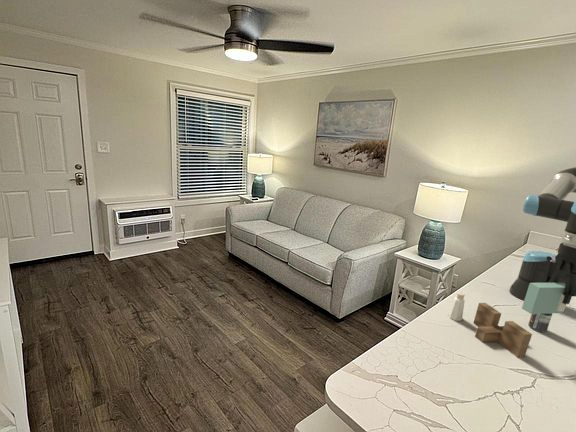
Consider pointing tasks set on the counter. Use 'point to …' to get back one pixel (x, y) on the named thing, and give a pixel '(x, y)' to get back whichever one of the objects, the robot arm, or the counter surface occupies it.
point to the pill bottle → (540, 322)
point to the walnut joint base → (500, 331)
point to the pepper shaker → (457, 307)
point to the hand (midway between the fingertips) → (553, 307)
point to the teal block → (543, 298)
